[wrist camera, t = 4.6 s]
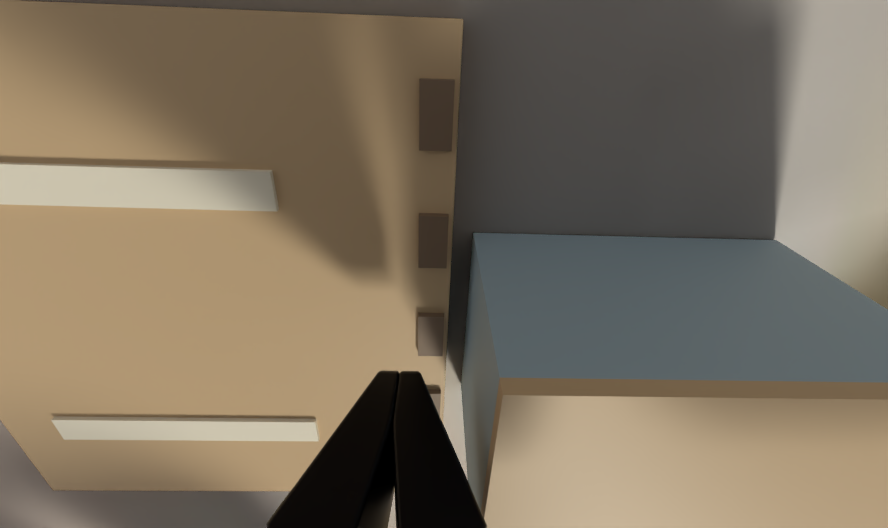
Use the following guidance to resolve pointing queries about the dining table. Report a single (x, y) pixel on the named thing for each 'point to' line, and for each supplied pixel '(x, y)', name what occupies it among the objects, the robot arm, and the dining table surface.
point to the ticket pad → (216, 234)
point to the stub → (671, 386)
